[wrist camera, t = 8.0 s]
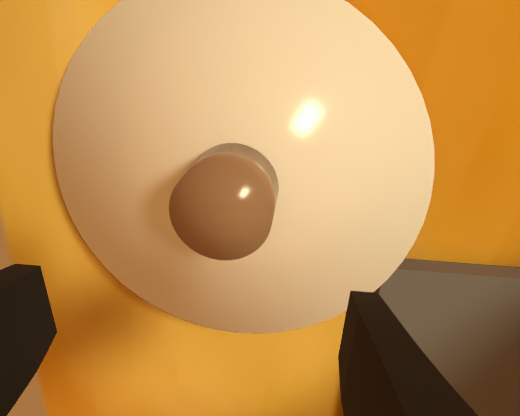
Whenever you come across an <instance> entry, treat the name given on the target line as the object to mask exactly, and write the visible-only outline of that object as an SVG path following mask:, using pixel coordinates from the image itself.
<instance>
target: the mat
mask: <svg viewBox="0 0 520 416" xmlns="http://www.w3.org/2000/svg"><path fill="white" fill-rule="evenodd" d="M374 293H378V294H379V295H380V296H381V297H382V298H383V300H384V301H385V302H386V304H387V305H388V306H389V308H390V309H391V311H392V312H393V313H394V315H395V316H396V317H397V319H398V320H399V321H400V323H401V324H402V325H403V327H404V328H405V329H406V330H407V332H408V333H409V334H410V336H411V337H412V338H413V340H414V341H415V342H416V343H417V345H418V346H419V347H420V348H421V350H422V351H423V352H424V353H425V355H426V356H427V357H428V358H429V359H430V361H431V362H432V363H433V364H434V365H435V367H436V368H437V369H438V370H439V372H440V373H441V374H442V375H443V376H444V378H445V379H446V380H447V381H448V382H449V383H450V385H451V386H452V387H453V388H454V389H455V390H456V391H457V393H458V394H459V395H460V396H461V397H462V398H463V399H464V400H465V401H466V403H467V404H468V405H469V406H470V407H471V408H472V409H473V410H474V411H475V413H476V414H477V415H478V416H520V268H519V267H506V266H493V265H480V264H467V263H454V262H441V261H428V260H415V259H404V260H403V262H402V263H401V264H400V265H399V267H398V268H397V269H396V270H395V271H394V272H393V274H392V275H391V276H390V277H389V278H388V280H386V281H385V282H384V283H383V284H382V285H381V286H380V287H379V288H378V289H377V290H376V291H374Z"/></svg>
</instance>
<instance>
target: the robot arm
mask: <svg viewBox="0 0 520 416" xmlns="http://www.w3.org/2000/svg"><path fill="white" fill-rule="evenodd" d="M56 333H57V330H56V326H55V322H54V318H53V314H52V310H51V306H50V302H49V299H48V295H47V291H46V287H45V283H44V279H43V275H42V271H41V267H40V266H35V265H22V264H14V265H11V266H9V267H6V268H4V269H2V270H0V416H7V414H8V413H9V412H10V410H11V409H12V407H13V406H14V404H15V403H16V401H17V400H18V398H19V397H20V395H21V394H22V393H23V391H24V390H25V388H26V387H27V385H28V384H29V382H30V381H31V379H32V378H33V376H34V375H35V373H36V372H37V370H38V368H39V366H40V364H41V362H42V361H43V359H44V357H45V355H46V353H47V351H48V349H49V347H50V345H51V343H52V341H53V339H54V337H55V335H56ZM338 358H339V374H340V388H341V401H342V407H343V413H344V416H478V415H477V414H476V413H475V411H474V410H473V409H472V408H471V407H470V406H469V405H468V404H467V403H466V401H465V400H464V399H463V398H462V397H461V396H460V395H459V394H458V393H457V391H456V390H455V389H454V388H453V387H452V386H451V385H450V383H449V382H448V381H447V380H446V379H445V378H444V376H443V375H442V374H441V373H440V372H439V370H438V369H437V368H436V367H435V365H434V364H433V363H432V362H431V361H430V359H429V358H428V357H427V356H426V355H425V353H424V352H423V351H422V350H421V348H420V347H419V346H418V345H417V343H416V342H415V341H414V340H413V338H412V337H411V336H410V334H409V333H408V332H407V330H406V329H405V328H404V327H403V325H402V324H401V323H400V321H399V320H398V319H397V317H396V316H395V315H394V313H393V312H392V311H391V309H390V308H389V306H388V305H387V304H386V302H385V301H384V300H383V298H382V297H381V296H380V295H379V294H378V293H374V292H362V291H350V296H349V301H348V307H347V312H346V318H345V323H344V328H343V334H342V339H341V345H340V350H339V356H338Z"/></svg>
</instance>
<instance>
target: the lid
mask: <svg viewBox="0 0 520 416" xmlns="http://www.w3.org/2000/svg"><path fill="white" fill-rule="evenodd" d="M53 156H54V163H55V169H56V176H57V179H58V183H59V186H60V190H61V194H62V197H63V200H64V202H65V204H66V207H67V209H68V212H69V214H70V217H71V219H72V220H73V222H74V224H75V226H76V228H77V229H78V231H79V233H80V235H81V237H82V238H83V240H84V241H85V242H86V244H87V245H88V247H89V248H90V250H91V251H92V252H93V254H94V255H95V256H96V257H97V258H98V260H99V261H100V262H101V263H102V264H103V265H104V266H105V268H106V269H107V270H108V271H109V272H110V273H111V274H112V275H113V276H114V277H116V278H117V279H118V280H119V281H120V282H121V283H122V284H123V285H124V286H126V287H127V288H128V289H130V290H131V291H132V292H134V293H135V294H136V295H138V296H139V297H140V298H142V299H143V300H145V301H147V302H148V303H150V304H152V305H153V306H155V307H157V308H158V309H160V310H162V311H164V312H167V313H169V314H171V315H173V316H175V317H177V318H180V319H183V320H185V321H188V322H191V323H193V324H196V325H200V326H204V327H208V328H212V329H216V330H222V331H229V332H235V333H254V334H258V333H277V332H283V331H289V330H296V329H300V328H303V327H307V326H311V325H314V324H318V323H320V322H323V321H325V320H328V319H330V318H333V317H335V316H337V315H339V314H341V313H343V312H345V311H346V310H347V307H348V301H349V296H350V291H362V292H374V291H376V290H377V289H378V288H379V287H380V286H381V285H382V284H383V283H384V282H385V281H386V280H388V278H389V277H390V276H391V275H392V274H393V272H394V271H395V270H396V269H397V268H398V267H399V265H400V264H401V263H402V262H403V260H404V259H405V257H406V255H407V254H408V252H409V251H410V249H411V247H412V246H413V244H414V243H415V240H416V238H417V236H418V234H419V232H420V229H421V227H422V225H423V223H424V220H425V217H426V213H427V210H428V207H429V203H430V200H431V194H432V187H433V180H434V143H433V136H432V130H431V123H430V119H429V116H428V113H427V109H426V106H425V103H424V100H423V96H422V94H421V92H420V90H419V88H418V85H417V83H416V81H415V79H414V77H413V75H412V73H411V71H410V69H409V67H408V66H407V64H406V63H405V61H404V60H403V58H402V57H401V55H400V54H399V53H398V51H397V50H396V48H395V47H394V45H393V44H392V43H391V42H390V41H389V40H388V38H387V37H386V36H385V35H384V34H383V33H382V32H381V31H380V30H379V29H378V27H377V26H376V25H375V24H374V23H373V22H372V21H370V20H369V19H368V18H367V17H366V16H364V15H363V14H362V13H361V12H359V11H358V10H357V9H356V8H355V7H353V6H352V5H351V4H350V3H348V2H346V1H345V0H122V1H120V2H119V3H118V4H117V5H116V6H114V7H113V8H112V9H111V10H110V11H109V12H107V13H106V14H105V15H104V16H103V17H102V18H101V19H100V20H99V21H98V22H97V23H96V25H95V26H94V27H93V28H92V29H91V31H90V32H89V33H88V34H87V35H86V36H85V38H84V39H83V41H82V42H81V44H80V46H79V47H78V49H77V51H76V52H75V54H74V55H73V57H72V59H71V61H70V63H69V65H68V68H67V70H66V73H65V75H64V77H63V80H62V82H61V86H60V89H59V93H58V97H57V101H56V105H55V112H54V121H53Z"/></svg>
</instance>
